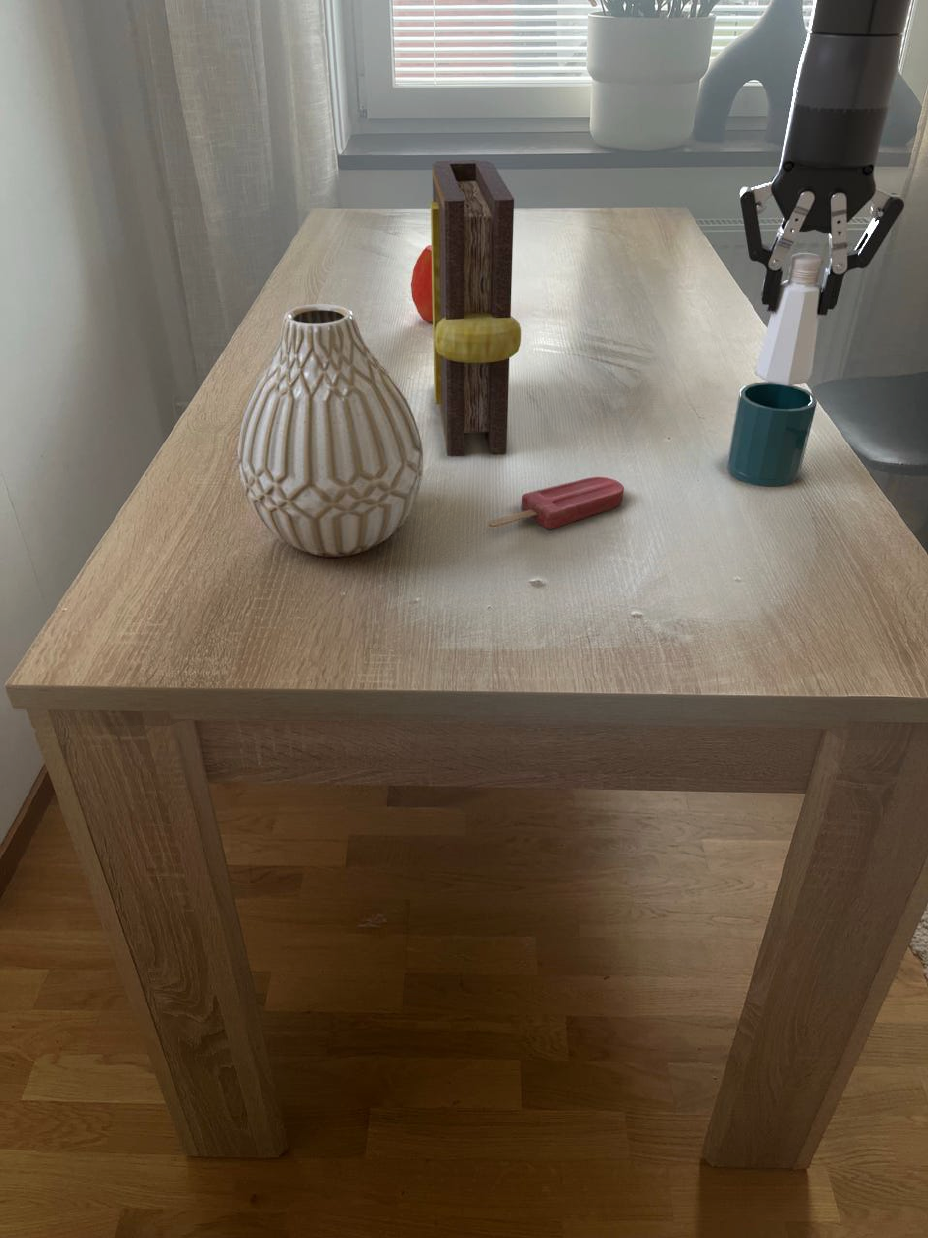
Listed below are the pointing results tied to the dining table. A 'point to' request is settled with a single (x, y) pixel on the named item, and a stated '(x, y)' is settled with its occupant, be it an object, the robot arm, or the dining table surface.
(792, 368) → the pepper shaker
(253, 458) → the vase
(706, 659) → the dining table surface
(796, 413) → the cup
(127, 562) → the dining table surface
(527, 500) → the popsicle
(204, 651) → the dining table surface
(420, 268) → the apple
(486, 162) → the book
